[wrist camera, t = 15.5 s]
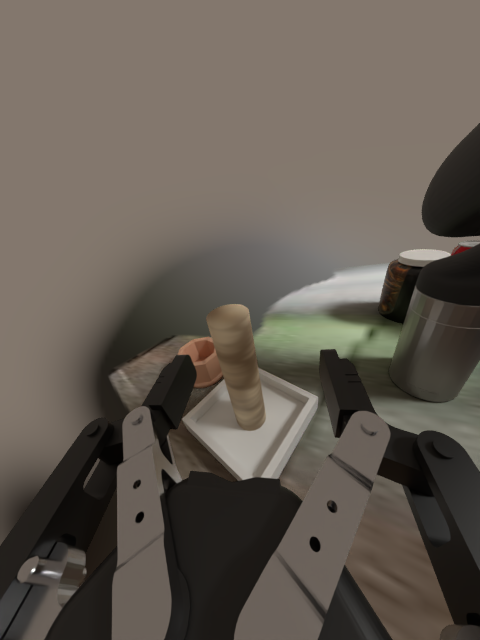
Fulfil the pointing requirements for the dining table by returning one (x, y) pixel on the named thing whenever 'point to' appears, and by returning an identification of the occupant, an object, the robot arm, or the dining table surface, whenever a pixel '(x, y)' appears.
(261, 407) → the wood rod
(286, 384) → the grey tray
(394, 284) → the jar
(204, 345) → the sleeve cup
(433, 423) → the dining table surface
